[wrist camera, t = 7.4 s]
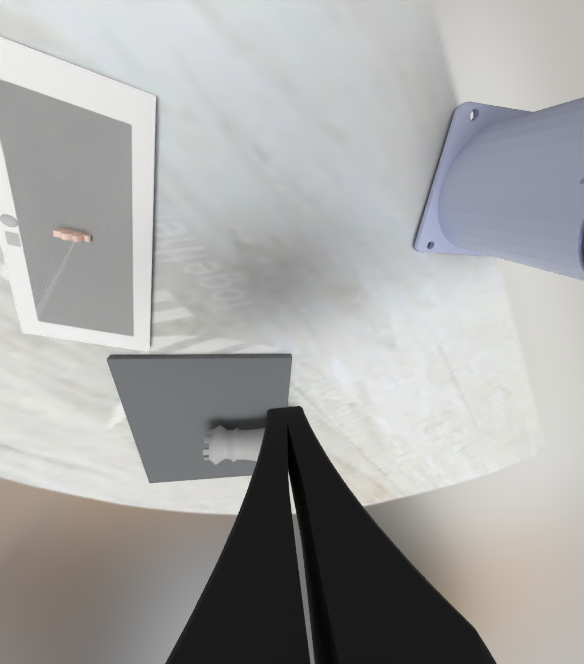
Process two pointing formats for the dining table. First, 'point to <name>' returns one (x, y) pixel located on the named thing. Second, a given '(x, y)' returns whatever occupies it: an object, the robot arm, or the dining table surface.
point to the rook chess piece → (233, 444)
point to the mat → (196, 407)
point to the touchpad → (76, 199)
